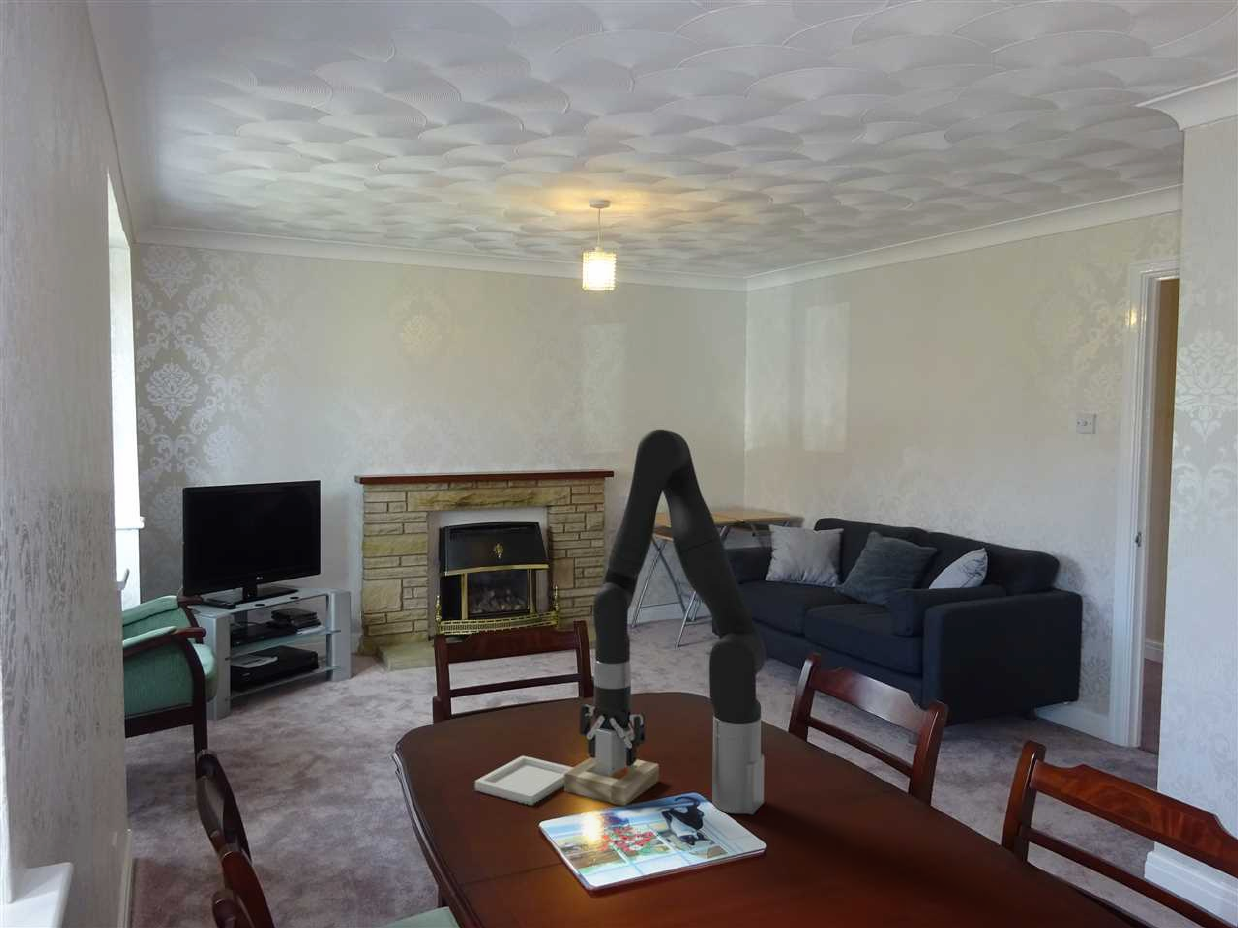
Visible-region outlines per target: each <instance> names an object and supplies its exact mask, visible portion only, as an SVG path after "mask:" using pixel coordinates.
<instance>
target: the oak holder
mask: <svg viewBox="0 0 1238 928" xmlns="http://www.w3.org/2000/svg"><path fill="white" fill-rule="evenodd" d="M659 765H660V764H659V763H655V762H652V761H648V760H647V761H646V760H642V759H638V758H637V759H636V762H634V764H633V765H631V766H628V774H627V775H625V776H624V777H622V778H621V779H619V780H618V779H614V778H610V777H606V776H602V775H598V774H595V758H592V757H590V756H589V758H586V759H585V760H584V761H582V762H580V763H579V764H577V765H575V766H574V767H573V768H572V769H571V770H569V771H567V772H566V773H564V785H563V791H564V792H568V793H572V794H575V795H580V796H583V797H587V798H591V799H596V800H599V801H602V802H606V803H610V804H615V805H617V806H622V807H626V806H627V805H628V804H629V803H631V802H633V801H634V800H635V799H637V797H639V796H640V795H642V794H643V793H645V792H646V791H647V790H649V789H650V788H651V787H652V786H654V785H655V784H657V783H658V782H659V780H660V779H659V778H660V777H659V775H660V773H659V772H660V771H659V769H660V768H659V767H660V766H659Z"/></svg>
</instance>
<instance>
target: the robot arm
mask: <svg viewBox="0 0 1238 928" xmlns="http://www.w3.org/2000/svg"><path fill="white" fill-rule="evenodd" d="M635 455H636V456H635V463H634V467H633V475H632V479H631V485H630V489H629V494H628V498H627V502H626V506H625V509H624V513H623V515H622V519H621V522H620V525H619V527H618V531H617V534H616V536H615V540H614V541H613V545H612V548H611V551H610V553H609V554H610V555H609V557H608V562H607V563H608V568H607V571H606V574H605V576H604V579H603V582H602V583H601V586H600V589H599V590H598V591H597V592H596V593H595V595H594V598H593V602H592V604H593V605H592V614H593V624H594V625H593V626H594V627H593V628H594V632H595V633H594V634H595V642H594V645H595V646H594V647H595V648H594V649H595V652H594V653H595V655H594V666H593V704H594V705H593V706H592V704H591V703H587V704H584V705H583V706H581V707H580V711H579V712H580V715H579V716H580V717H579V734H580V735H582V736H583V735H584V736H585V737H587V742H588V743H587V750H588V751H587V753H588V754H589V758H590V757H592V758H595V751H596V730H597V729H600V728H605V729H610V730H614V731H617V733H618V735H619V736H620V738H621V739H623V740H624V742H625V744H626V745H627V748H626V765H627V766H631V765H633V764H634V762H636V759H638V757H637V756H638V755H637V753H638V752H637V751H638V750H637V748H639V747H640V746H643V745H644V744H645V743H646V742H647V741H646V740H647V739H646V738H647V737H646V723H645V722H646V720H645V719H646V718H645V717H646V716H645V714H644V713H639V714H633V713H632V712H631V703H632V695H631V694H632V682H631V681H632V667H631V653H630V652H631V651H630V650H631V642H630V641H631V640H630V635H629V633H628V613H629V612H628V611H629V609H630V607H631V605H632V602H633V599H634V596H635V593H636V588H637V584H638V582H639V581H638V580H639V576H640V574H641V572H642V570H643V567H644V564H645V562H646V559H647V555H648V552H649V551H650V548H651V547H650V546H651V543H652V539H653V535H654V529H655V522H656V515H657V512H658V511H657V510H658V507H659V503H660V499H661V497H662V493H663V495H664V497H665V500H666V503H667V506H668V512H669V521H670V522H669V523H670V531H671V537H672V542H673V547H674V551H675V552H676V554H677V559H678V562H679V563H680V567H681V568H682V572H683V575H684V576H685V578H686V580H687V582H688V583H689V586H691V588H692V590H694V591H695V593H696V595H697V596H698V597H699V598H700V599H701V600H702V603H704V606H706V607H707V609H708V611H709V613H710V615H711V617H712V620H713V623H714V626H715V629H716V632H717V635H718V640H717V641H716V642H715V643H714V645H713V646H712V648H711V650H710V653H709V658H708V682H709V683H708V684H709V686H708V687H709V700H710V703H711V707H712V767H711V768H712V771H711V772H712V776H711V782H712V783H711V786H712V787H711V788H712V790H711V792H712V793H711V794H712V795H711V799H712V800H711V801H712V802H711V803H712V805H713V806H714V807H715V808H716V809H718V810H720V811H722V812H726V813H731V814H749V815H753V814H755V812H756V811H758V809H760V807H761V806H762V805H763V804H764V803H765V755H764V754H762V751H761V750H762V749H761V748H762V747H761V746H762V744H761V743H762V705H761V704H762V703H761V702H760V701H759V700H758V699H757V674H758V673H760V672H761V671H762V669H763V668H764V666H765V663H766V659H767V653H766V647H765V644H764V641H763V639H762V637H761V635H760V632H759V631H758V628H757V627H756V625H755V623H754V621H753V619H752V617H751V615H750V613H749V611H748V609H747V607H746V604H745V602H744V600H743V596H742V593H741V591H740V588H739V585H738V582H737V579H736V576H735V574H734V571H733V569H732V566H731V562H730V560H729V557H728V554H727V551H726V547H725V545H724V542H723V541H722V538H721V535H720V533H719V530H718V528H717V526H716V523H715V521H714V518H713V516H712V513H711V511H710V509H709V506H708V505H707V503H706V500H705V498H704V495H703V494H702V491H701V487H700V485H699V482H698V478H697V474H696V470H695V466H694V463H693V459H692V453H691V450H690V448H689V445H688V443H687V441H686V440H685V439H684V438H683V436H681V435H680V434H679V433H677V432H674V431H672V430H671V431H670V430H667V429H655V430H651V431H649V432H647V433H645V435H644V436H642V437H641V439H640V441H639V443H638V446H637V450H636V454H635ZM592 716H594V718H595V719H596V721H595V722H594V724H593V725H592ZM630 722H631V724H630ZM632 727H633V728H632ZM624 729H625V730H626V732H624Z"/></svg>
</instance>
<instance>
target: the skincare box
mask: <svg viewBox="0 0 1238 928" xmlns="http://www.w3.org/2000/svg"><path fill="white" fill-rule="evenodd" d="M624 732H626V730H625V729H624ZM626 748H627V745H626V744H625V742H624V740H623V739H621V738H620V736H619V735H618V733H617V731H614V730H610V729H605V728H600V729H597V730H596V751H595V774H598V775H602V776H606V777H610V778H614V779H618V780H619V779H621V778H622V777H624V776H625V775H627V774H628V766H627V765H626Z"/></svg>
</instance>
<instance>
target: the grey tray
mask: <svg viewBox="0 0 1238 928" xmlns="http://www.w3.org/2000/svg"><path fill="white" fill-rule="evenodd" d="M572 768H574V767H572V766H568V765H565V764H560V763H556V762H551V761H547V760H544V759H543V760H542V759H539V758H536V757H531V756H527V755H521V756H519V757H517V758H515V759H513V760H512V761H510V762H507V763H505V764H504V765H503V766H500V767H499V768H496V769H495V770H493V771H491V772H489V773H488V774H485V775H484V776H482V777H480V778H479V779H476V780H474V791H477V792H480V793H485V794H487V795H491V796H495V797H498V796H499V798H503V799H505V798H506V800H509V801H513V802H516V801H517V803H519V804H523V803H524V804H523V805H527V804H528V806H533V805H535V804H537V803H538V802H540V801H541V800H543V799H545V798H546V797H548V796H549V795H551V794H552V793H554V792H555V791H557V790H559V789H560V788H562V787H564V773H566V772H567V771H569V770H571V769H572ZM545 796H546V797H545ZM542 798H543V799H542ZM539 800H540V801H539ZM536 802H537V803H536ZM534 803H535V804H534Z"/></svg>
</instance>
